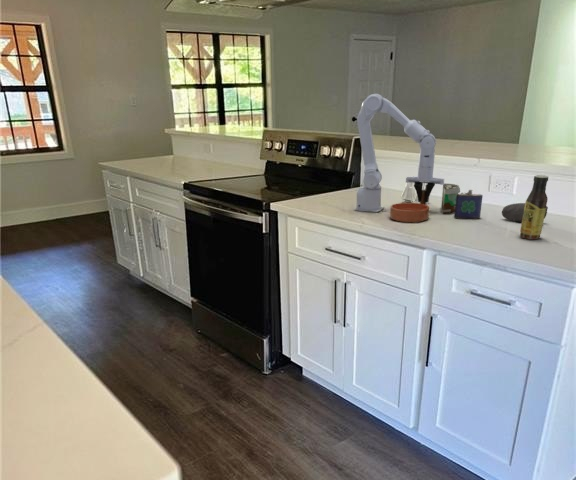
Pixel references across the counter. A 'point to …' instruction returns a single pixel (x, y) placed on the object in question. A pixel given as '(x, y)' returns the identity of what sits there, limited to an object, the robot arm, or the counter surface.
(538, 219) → the sauce bottle
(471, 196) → the flask
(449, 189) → the food container
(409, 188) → the shaker set
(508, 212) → the perforated stone tool
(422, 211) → the bowl
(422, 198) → the stick
